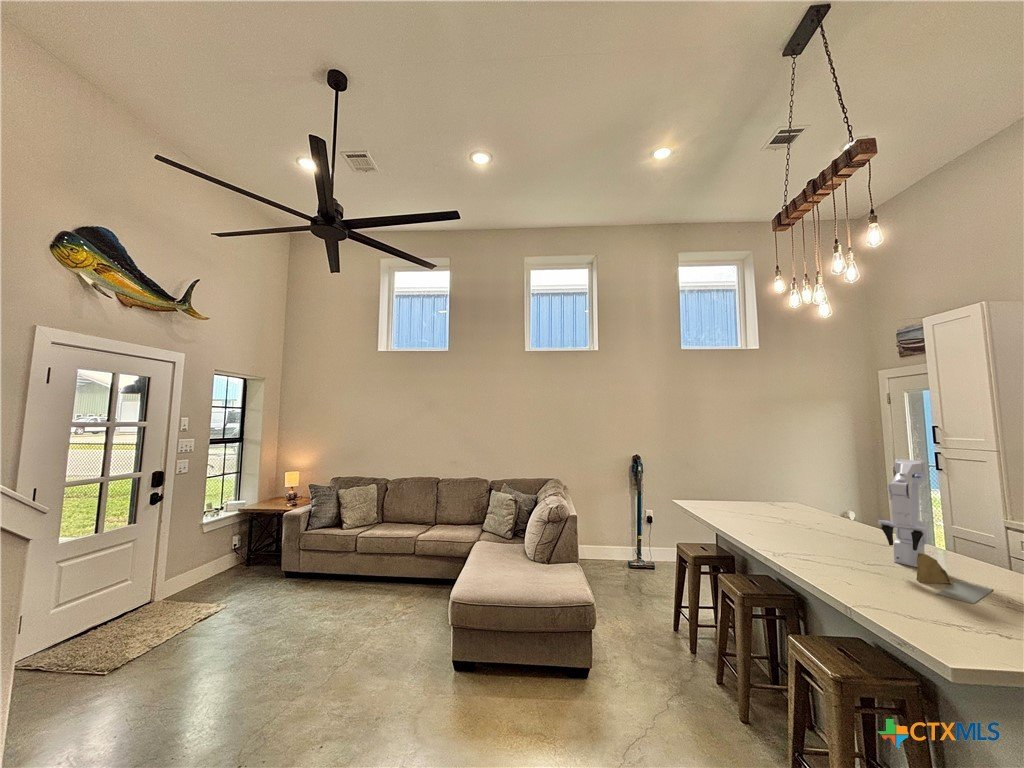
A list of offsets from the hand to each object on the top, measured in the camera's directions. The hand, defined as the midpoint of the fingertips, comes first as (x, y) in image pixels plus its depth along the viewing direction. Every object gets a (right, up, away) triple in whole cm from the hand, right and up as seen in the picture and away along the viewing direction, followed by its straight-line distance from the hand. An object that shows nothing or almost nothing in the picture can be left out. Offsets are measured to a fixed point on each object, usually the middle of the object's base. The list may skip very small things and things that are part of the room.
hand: (902, 547), depth 168 cm
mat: (+6, -9, -17) cm, 21 cm away
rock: (+4, -10, -8) cm, 14 cm away
